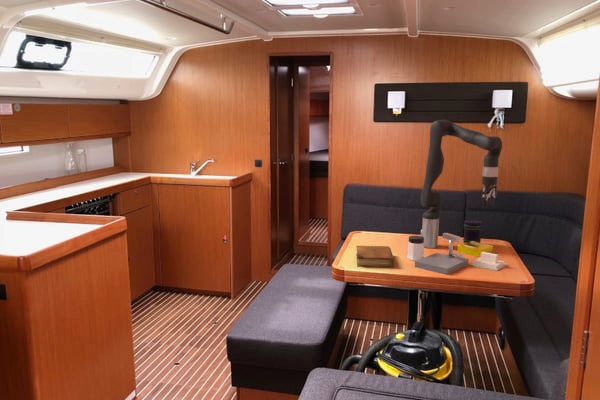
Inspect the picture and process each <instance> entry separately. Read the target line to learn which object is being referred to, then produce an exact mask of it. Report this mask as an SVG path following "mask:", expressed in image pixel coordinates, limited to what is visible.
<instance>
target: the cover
mask: <svg viewBox="0 0 600 400" xmlns="http://www.w3.org/2000/svg"><path fill="white" fill-rule="evenodd" d="M472 263H473V264H477V265H482V266H487V267H491V268H498V267H500V266H502V265H504V263H505V261H504V260H499V254H498V253H487V252H481V256H480V257H478V258H476V259H474V260H473V262H472Z"/></svg>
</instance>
